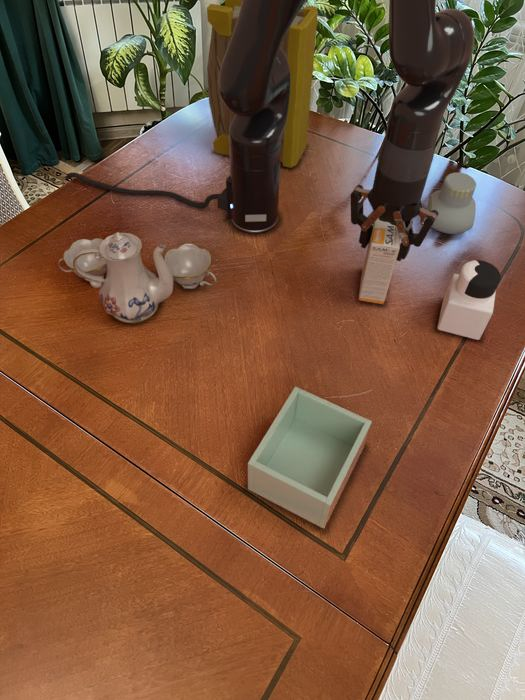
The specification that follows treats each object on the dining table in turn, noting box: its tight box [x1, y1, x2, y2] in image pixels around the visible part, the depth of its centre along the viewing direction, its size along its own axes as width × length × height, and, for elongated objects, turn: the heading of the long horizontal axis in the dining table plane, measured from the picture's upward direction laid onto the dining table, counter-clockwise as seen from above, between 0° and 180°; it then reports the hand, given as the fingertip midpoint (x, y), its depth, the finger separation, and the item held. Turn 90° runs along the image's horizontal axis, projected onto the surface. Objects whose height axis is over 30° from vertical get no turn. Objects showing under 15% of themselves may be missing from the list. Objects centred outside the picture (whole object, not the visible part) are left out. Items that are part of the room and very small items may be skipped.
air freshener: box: [426, 172, 477, 235], centre depth 111 cm, size 11×8×10 cm
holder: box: [247, 386, 373, 530], centre depth 78 cm, size 12×14×8 cm
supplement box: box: [358, 218, 401, 305], centre depth 98 cm, size 8×5×13 cm, turn 168°
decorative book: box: [206, 0, 319, 169], centre depth 118 cm, size 20×11×30 cm, turn 69°
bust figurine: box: [437, 259, 502, 341], centre depth 94 cm, size 7×7×12 cm
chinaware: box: [57, 231, 218, 324], centre depth 96 cm, size 28×17×17 cm, turn 91°
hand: (382, 251), depth 96 cm, fingers closed on supplement box, 5 cm apart
